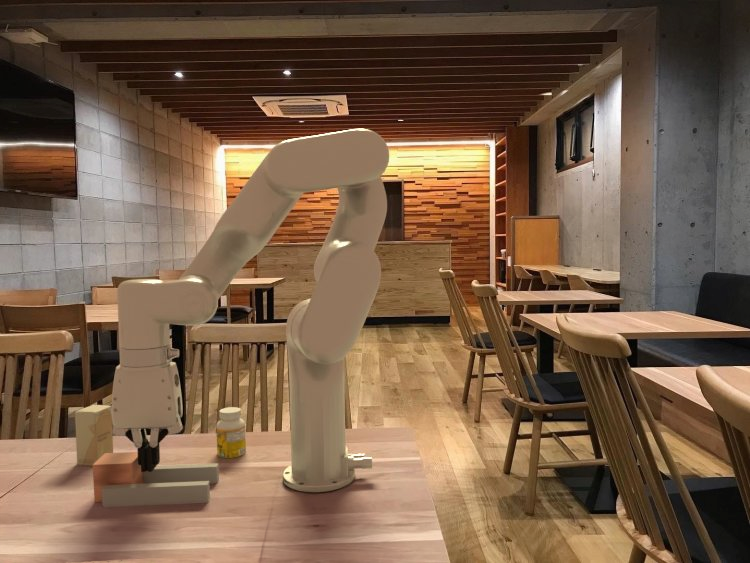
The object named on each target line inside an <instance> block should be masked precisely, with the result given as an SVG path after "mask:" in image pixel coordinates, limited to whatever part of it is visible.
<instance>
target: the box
mask: <svg viewBox="0 0 750 563" xmlns="http://www.w3.org/2000/svg"><path fill="white" fill-rule="evenodd" d="M74 418H75V420H74V421H75V443H76V444H75V445H76V465H81V466H90V467H91V466H92V467H93V464H94V463H95V462H96V461H97V460H98V459H99V458H100V457H102V456H103V455H104V454H105V453H114V441H113V440H114V438H113V435H114V434H113V432H112V431H113V423H112V405H105V404H103V405H102V404H92V405H89V406H87V407H84V408H81V409H79V410H77V411H75V412H74Z"/></svg>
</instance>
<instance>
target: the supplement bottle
mask: <svg viewBox="0 0 750 563" xmlns="http://www.w3.org/2000/svg"><path fill="white" fill-rule="evenodd" d="M218 413H219V414H218V415H219V419H220V420H218V421H217V423H216V424H215V425H216V426H215V428H216V452H217V456H218V457H220V458H222V459H223V458H224V459H235V458H238V457H242V456H243V455H245V454H246V453H247V445H246V444H247V443H246V442H247V441H246V422H245V420H244V419H243V418H241V416H242V409H241V408H240V407H235V406H231V407H229V406H228V407H224V408H221V409H220V410H219V412H218Z"/></svg>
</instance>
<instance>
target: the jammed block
mask: <svg viewBox="0 0 750 563" xmlns="http://www.w3.org/2000/svg"><path fill="white" fill-rule="evenodd" d="M92 475H93V493H94V494H93V496H94V498H93V499H94V502H95V503H98V502H99V503H100V502H102V488H103V487H104V486H105V485H123V484H144V479H143V472H141V465H138V451H133V452H132V451H131V452H128V451H127V452H124V451H123V452H113V453H105V454H104V455H103V456H102V457H100V458H99V459H98V460H97V461H96V462H95V463H94V464H93V466H92Z"/></svg>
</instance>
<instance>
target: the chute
mask: <svg viewBox="0 0 750 563" xmlns="http://www.w3.org/2000/svg"><path fill="white" fill-rule="evenodd" d="M219 469H220V468H219V463H195V464H193V463H192V464H171V465H169V464H168V465H157V466H156V467H155V468H154V470H153V471H152V472H148V471H145V472H143V479H144V484H123V485H105V486H104V487H103V488H102V508H112V507H113V508H114V507H134V506H135V507H137V506H138V507H139V506H158V505H159V506H161V505H182V504H183V505H184V504H187V505H188V504H205V503H207V504H208V503H209V501H210V499H211V491H210V490H211V489H210V487H211V486H210V484H218V483H219V480H220V473H219Z"/></svg>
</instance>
